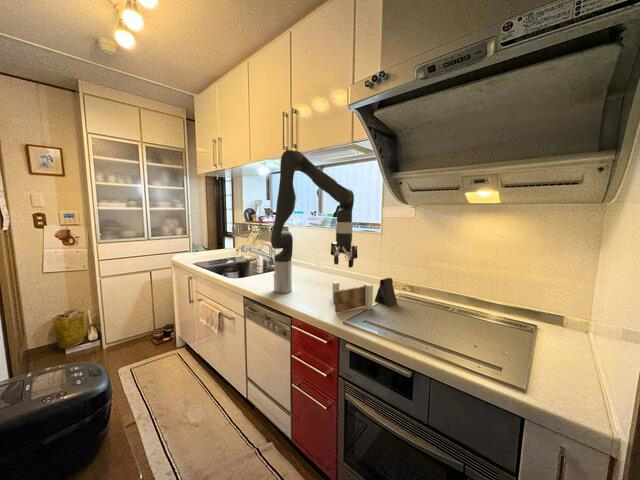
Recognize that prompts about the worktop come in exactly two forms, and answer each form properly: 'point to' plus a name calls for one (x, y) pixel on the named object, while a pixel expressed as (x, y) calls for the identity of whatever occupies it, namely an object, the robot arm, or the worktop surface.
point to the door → (349, 299)
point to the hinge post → (368, 296)
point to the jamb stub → (335, 287)
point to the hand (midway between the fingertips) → (343, 265)
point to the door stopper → (386, 293)
